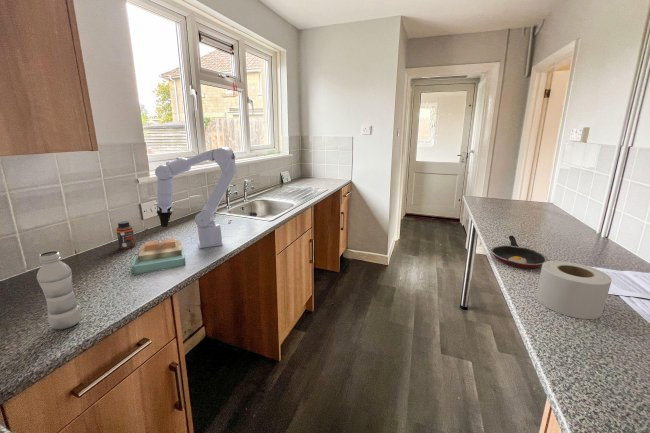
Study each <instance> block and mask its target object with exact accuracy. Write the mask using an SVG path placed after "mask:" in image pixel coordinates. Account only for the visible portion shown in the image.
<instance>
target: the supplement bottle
mask: <svg viewBox="0 0 650 433" xmlns="http://www.w3.org/2000/svg"><path fill="white" fill-rule="evenodd" d="M116 236H117V241H118V245H119V248H120V249H121V250H124V249H125V250H127V249H131V248H135V246H136V240H135V233H134V228H133V226H132V225H130V221H129V220H122V221H118V222H117V228H116Z"/></svg>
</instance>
